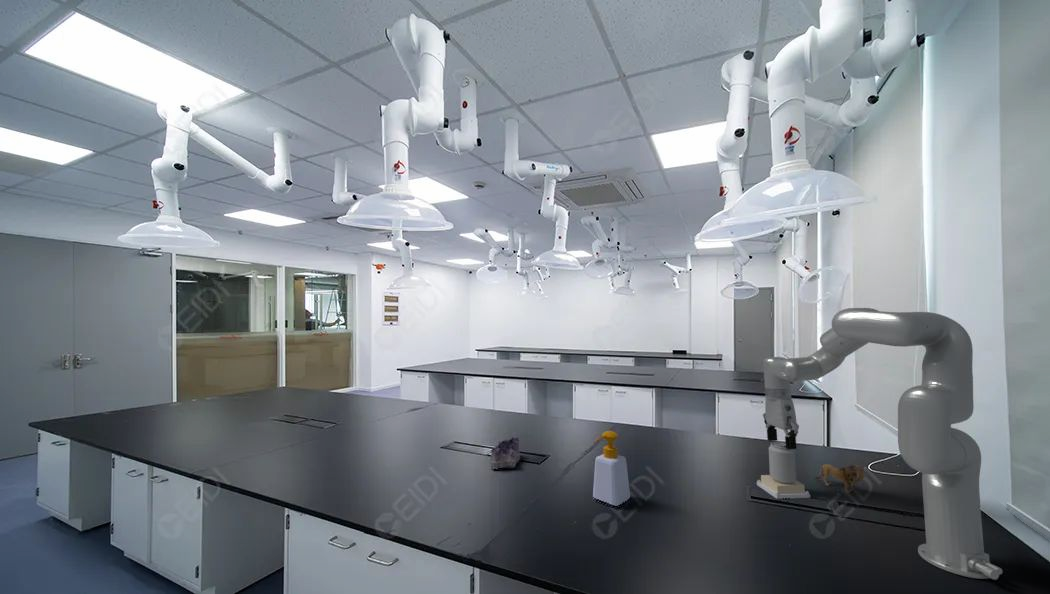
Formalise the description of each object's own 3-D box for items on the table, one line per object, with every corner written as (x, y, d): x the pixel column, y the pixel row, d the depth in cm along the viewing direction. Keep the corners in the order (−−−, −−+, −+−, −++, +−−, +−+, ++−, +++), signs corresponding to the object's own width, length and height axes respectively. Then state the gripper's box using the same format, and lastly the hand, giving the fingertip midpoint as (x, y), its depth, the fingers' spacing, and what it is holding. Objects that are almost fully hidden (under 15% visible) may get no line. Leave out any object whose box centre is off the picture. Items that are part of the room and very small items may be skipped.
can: (796, 486, 131) (794, 449, 132) (770, 482, 135) (768, 445, 136) (795, 478, 138) (793, 442, 138) (770, 474, 142) (768, 439, 142)
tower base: (810, 498, 131) (809, 486, 132) (776, 498, 131) (776, 487, 131) (787, 484, 142) (787, 473, 143) (756, 484, 142) (756, 474, 142)
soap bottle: (583, 504, 129) (581, 434, 130) (607, 491, 139) (605, 425, 140) (608, 514, 123) (606, 440, 124) (632, 499, 132) (630, 430, 134)
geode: (498, 454, 180) (501, 431, 180) (523, 459, 177) (526, 436, 178) (484, 469, 160) (487, 443, 160) (512, 475, 157) (516, 449, 158)
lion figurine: (868, 493, 134) (866, 465, 135) (861, 497, 132) (860, 468, 132) (817, 478, 147) (816, 453, 147) (811, 482, 144) (809, 456, 144)
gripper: (806, 397, 130) (810, 452, 129) (772, 389, 147) (776, 437, 146) (783, 398, 130) (787, 452, 128) (752, 389, 147) (755, 438, 146)
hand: (781, 444), depth 137 cm, fingers open, 9 cm apart
